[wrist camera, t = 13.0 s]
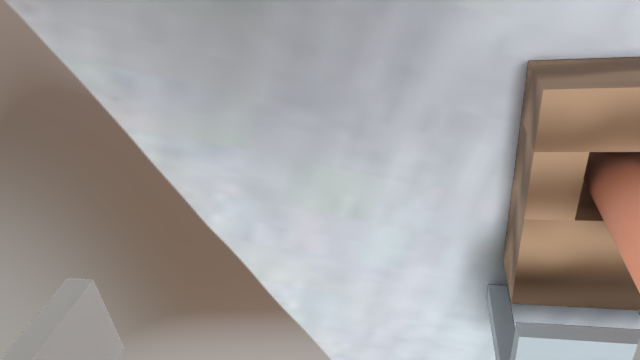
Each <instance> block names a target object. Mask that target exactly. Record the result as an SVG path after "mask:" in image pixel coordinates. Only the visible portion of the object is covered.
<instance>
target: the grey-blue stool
mask: <svg viewBox="0 0 640 360" xmlns="http://www.w3.org/2000/svg"><path fill="white" fill-rule="evenodd" d="M487 302H488V309H489V316H490V323H491V330H492V336H493V343H494V350H495V357H496V360H632V359H633V356H634V354H635V351H636V348H637V345H638V342H639V340H640V329H626V328H609V327H592V326H575V325H558V324H541V323H524V322H516V326H515V325H514V320H513V314H512V309H511V304H510V299H509V294H508V289H507V286H506V285H488V291H487ZM638 313H639V315H640V310H638Z"/></svg>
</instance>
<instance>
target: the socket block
mask: <svg viewBox="0 0 640 360" xmlns="http://www.w3.org/2000/svg"><path fill="white" fill-rule="evenodd" d="M589 152H640V57H625V58H596V59H567V60H538V61H528V69H527V77H526V85H525V92H524V100H523V108H522V116H521V124H520V131H519V139H518V147H517V155H516V163H515V170H514V178H513V186H512V194H511V202H510V209H509V217H508V225H507V233H506V241H505V248H504V256H503V264H504V269H505V274H506V279H507V284H508V289H509V294H510V299H511V304H530V305H549V306H568V307H587V308H606V309H625V310H640V293H639V291H638V289H637V287H636V285H635V283H634V281H633V279H632V277H631V275H630V273H629V271H628V269H627V267H626V265H625V263H624V261H623V259H622V257H621V255H620V252H619V250H618V248H617V246H616V244H615V242H614V240H613V238H612V236H611V234H610V232H609V230H608V228H607V226H606V224H605V222H604V220H603V218H602V216H601V214H600V212H599V210H598V208H597V206H596V204H595V202H594V200H593V198H592V196H591V194H590V192H589V190H588V188H587V186H586V184H585V181H583V180H584V175H585V170H586V166H587V161H588V157H589Z"/></svg>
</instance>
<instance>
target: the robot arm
mask: <svg viewBox="0 0 640 360" xmlns="http://www.w3.org/2000/svg"><path fill="white" fill-rule="evenodd" d="M124 351H125V349H124V346H123V344H122V342H121V340H120V338H119V335H118V333H117V331H116V329H115V327H114V324H113V322H112V320H111V318H110V316H109V313H108V311H107V309H106V307H105V305H104V303H103V300H102V298H101V296H100V294H99V292H98V289H97V287H96V285H95V283H94V280H92V279H72V278H67V279H66V280H65V281H64V283H63V284H62V285H61V286H60V287H59V289H58V290H57V291H56V292H55V293H54V295H53V296H52V297H51V298H50V299H49V301H48V302H47V303H46V304H45V306H44V307H43V308H42V309H41V310H40V312H39V313H38V314H37V315H36V316H35V318H34V319H33V320H32V321H31V323H30V324H29V325H28V326H27V327H26V328H25V330H24V331H23V332H22V334H21V335H20V336H19V337H18V338H17V339H16V341H15V342H14V343H13V344H12V346H11V347H10V348H9V349H8V350H7V351H6V353H5V354H4V355H3V356H2V358H1V359H0V360H119V359H120V357H121V355H122V354H123V352H124ZM632 360H640V340H639V342H638V345H637V348H636V351H635V354H634V356H633V359H632Z"/></svg>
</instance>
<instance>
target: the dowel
mask: <svg viewBox="0 0 640 360" xmlns="http://www.w3.org/2000/svg"><path fill="white" fill-rule="evenodd" d="M584 181H585V184H586V186H587V188H588V190H589V192H590V194H591V196H592V198H593V200H594V202H595V204H596V206H597V208H598V210H599V212H600V214H601V216H602V218H603V220H604V222H605V224H606V226H607V228H608V230H609V232H610V234H611V236H612V238H613V240H614V242H615V244H616V246H617V248H618V250H619V252H620V255H621V257H622V259H623V261H624V263H625V265H626V267H627V269H628V271H629V273H630V275H631V277H632V279H633V281H634V283H635V285H636V287H637V289H638V291H639V293H640V152H589V157H588V161H587V166H586V170H585V175H584Z"/></svg>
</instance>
